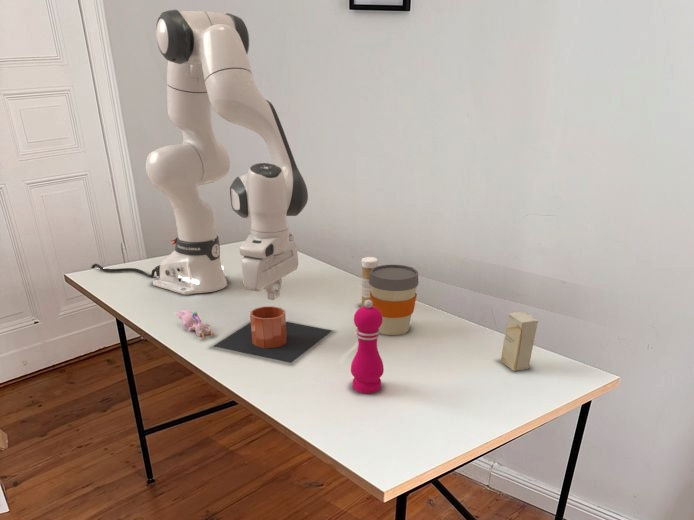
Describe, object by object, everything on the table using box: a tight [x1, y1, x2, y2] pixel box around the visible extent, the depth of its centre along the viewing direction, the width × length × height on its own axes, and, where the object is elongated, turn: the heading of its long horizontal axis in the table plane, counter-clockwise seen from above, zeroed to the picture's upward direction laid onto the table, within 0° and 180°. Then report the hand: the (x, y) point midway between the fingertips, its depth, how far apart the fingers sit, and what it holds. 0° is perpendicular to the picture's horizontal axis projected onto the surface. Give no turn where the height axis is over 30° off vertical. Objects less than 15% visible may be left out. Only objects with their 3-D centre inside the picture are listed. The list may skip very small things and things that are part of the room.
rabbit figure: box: [175, 309, 215, 340], centre depth 176 cm, size 6×6×15 cm
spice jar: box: [360, 256, 379, 307], centre depth 189 cm, size 5×5×13 cm
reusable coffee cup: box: [369, 264, 419, 336], centre depth 176 cm, size 13×13×15 cm
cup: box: [249, 305, 287, 348], centre depth 169 cm, size 8×8×8 cm
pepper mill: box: [350, 300, 385, 394], centre depth 146 cm, size 7×7×20 cm
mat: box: [213, 321, 333, 364], centre depth 173 cm, size 22×22×1 cm
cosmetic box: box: [500, 310, 539, 372], centre depth 159 cm, size 6×4×12 cm
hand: (273, 298), depth 168 cm, fingers closed
